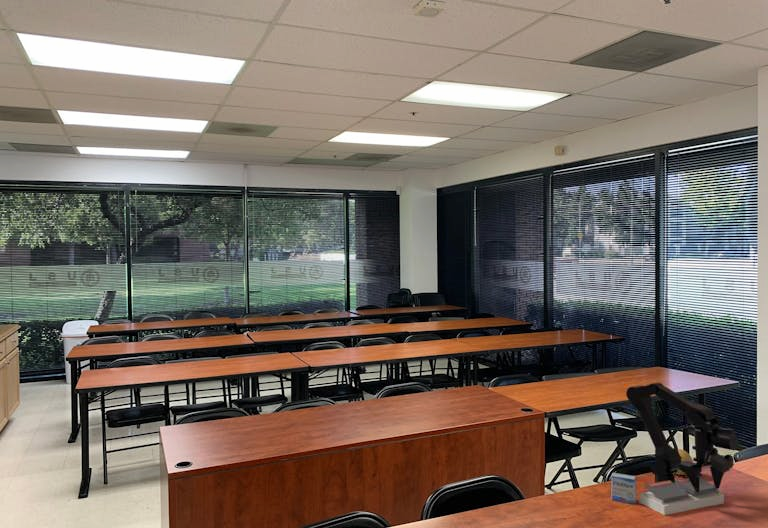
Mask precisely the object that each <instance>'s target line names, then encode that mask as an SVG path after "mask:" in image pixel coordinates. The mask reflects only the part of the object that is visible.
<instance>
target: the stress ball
mask: <svg viewBox="0 0 768 528" xmlns="http://www.w3.org/2000/svg"><path fill="white" fill-rule="evenodd" d="M677 449H678V452H679V454H680V456H681V457H682V459H681V460H682V462H684V461H691V462H694V461H693V458H692V456H691V455H690V454H689V453H688V451H686V450H684V449H681V448H677ZM676 474H678V475H677V476H680V475H682V476H684V475H686V474H685V473H684V472H682V471H681V470H679V469H678V471H677V473H674V475H676Z"/></svg>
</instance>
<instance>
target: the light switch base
mask: <svg viewBox="0 0 768 528" xmlns="http://www.w3.org/2000/svg"><path fill="white" fill-rule="evenodd" d="M680 488H681V487H680ZM681 489H682V490H684V489H683V488H681ZM684 491H685V492H686V493H688V494H689V495H688V497H687V498H681V499H676V500H671V501H666V502H663V501H662V500H660V499H659V498H658V497H657V496H655V495H654V494H653V493H652V492H650V491H647V492H645V491H643V492H641V493H638V502H639V503H640V504H641V505H643V506H646V507H647V508H650V509H651V510H653V511H655V512H658V513H660V514H661V515H664V516H667V515H673V514H676V513H681V512H682V513H683V512H687V511H693V510H697V509H701V508H707V507H711V506H718V505H722V504H725V494H723V493H721V490H719V489H717V490H716V491H711V492H706V493H701V494H695V495H693V494H691V493H690V492H688V491H686V490H684Z"/></svg>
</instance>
